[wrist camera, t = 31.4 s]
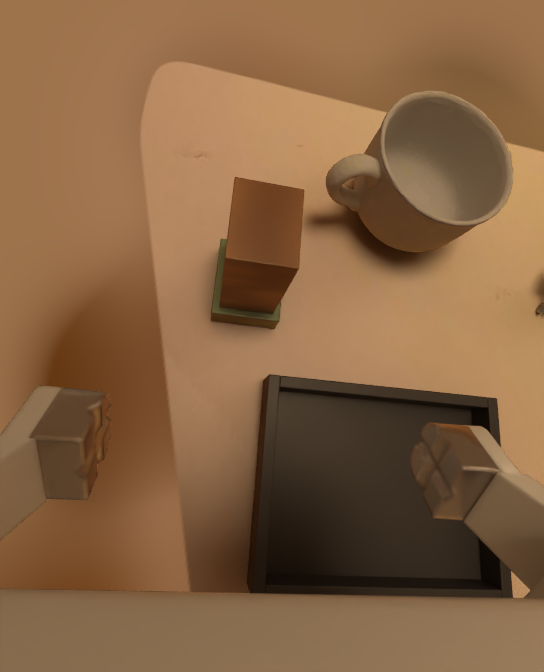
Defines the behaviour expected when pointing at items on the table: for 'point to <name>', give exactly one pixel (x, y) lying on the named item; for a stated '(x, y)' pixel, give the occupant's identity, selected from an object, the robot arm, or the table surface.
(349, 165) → the teacup
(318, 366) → the table surface
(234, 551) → the table surface
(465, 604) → the robot arm
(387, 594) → the tray
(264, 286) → the brown block green base
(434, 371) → the table surface
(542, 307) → the grey creature figurine
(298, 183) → the table surface
